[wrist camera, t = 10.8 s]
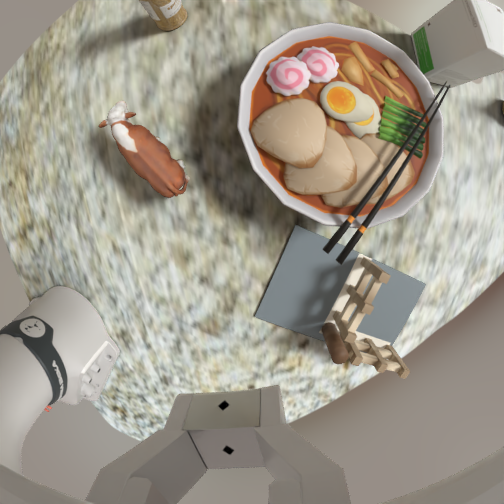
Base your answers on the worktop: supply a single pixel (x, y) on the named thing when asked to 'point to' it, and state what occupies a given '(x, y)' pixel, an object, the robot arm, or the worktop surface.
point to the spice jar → (166, 13)
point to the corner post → (334, 343)
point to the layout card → (333, 291)
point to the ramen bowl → (341, 127)
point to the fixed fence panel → (375, 356)
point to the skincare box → (461, 43)
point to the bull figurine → (146, 153)
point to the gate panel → (360, 299)
